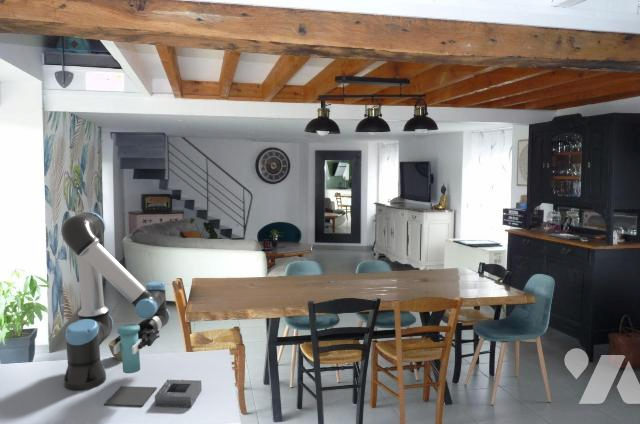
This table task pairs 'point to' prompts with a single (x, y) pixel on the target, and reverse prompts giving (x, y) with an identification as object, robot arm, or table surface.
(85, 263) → the robot arm
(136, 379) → the table surface
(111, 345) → the flower pot
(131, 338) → the teal capped cylinder
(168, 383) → the housing
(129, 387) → the mat
